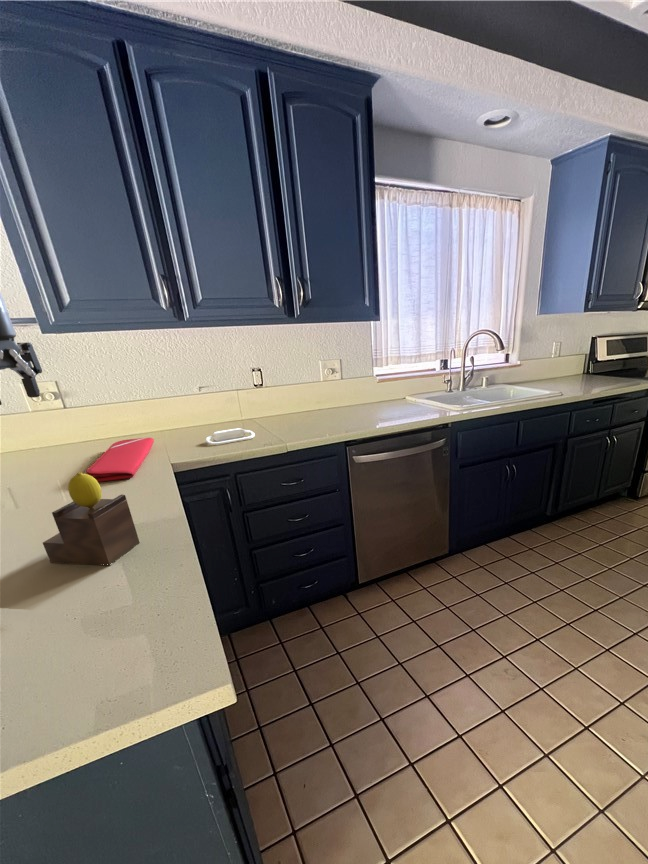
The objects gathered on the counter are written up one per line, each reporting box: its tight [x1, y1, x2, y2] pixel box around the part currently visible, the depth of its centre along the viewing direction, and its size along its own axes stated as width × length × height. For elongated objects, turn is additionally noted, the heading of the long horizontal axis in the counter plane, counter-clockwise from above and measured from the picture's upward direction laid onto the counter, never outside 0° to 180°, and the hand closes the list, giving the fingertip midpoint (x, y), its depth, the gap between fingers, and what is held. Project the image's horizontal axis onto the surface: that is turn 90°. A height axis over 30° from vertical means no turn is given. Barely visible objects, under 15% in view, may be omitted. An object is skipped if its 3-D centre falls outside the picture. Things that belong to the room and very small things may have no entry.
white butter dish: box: [205, 427, 256, 446], centre depth 179 cm, size 20×8×4 cm, turn 125°
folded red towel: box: [85, 437, 155, 483], centre depth 154 cm, size 16×41×4 cm, turn 17°
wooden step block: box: [42, 494, 140, 566], centre depth 93 cm, size 14×10×12 cm
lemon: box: [67, 472, 103, 509], centre depth 89 cm, size 6×6×8 cm
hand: (15, 401), depth 84 cm, fingers open, 8 cm apart
